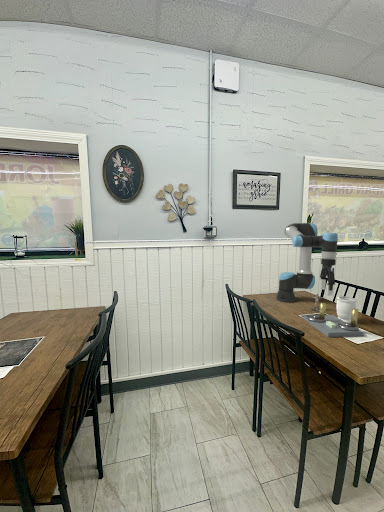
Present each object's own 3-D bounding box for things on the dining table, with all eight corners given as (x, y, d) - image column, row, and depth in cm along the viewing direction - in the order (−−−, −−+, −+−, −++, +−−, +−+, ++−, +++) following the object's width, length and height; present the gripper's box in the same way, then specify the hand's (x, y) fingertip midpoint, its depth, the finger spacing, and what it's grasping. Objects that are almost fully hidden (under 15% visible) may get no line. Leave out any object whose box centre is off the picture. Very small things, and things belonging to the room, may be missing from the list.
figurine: (323, 308, 164) (324, 293, 162) (326, 312, 157) (327, 296, 156) (307, 307, 166) (308, 292, 164) (309, 310, 159) (311, 295, 158)
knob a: (307, 320, 136) (308, 304, 135) (305, 314, 145) (306, 299, 144) (326, 323, 132) (327, 306, 131) (323, 317, 141) (324, 301, 140)
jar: (357, 324, 137) (360, 301, 135) (339, 323, 139) (341, 300, 137) (349, 317, 147) (351, 296, 145) (332, 316, 149) (334, 295, 147)
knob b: (346, 331, 122) (347, 312, 121) (333, 323, 132) (335, 306, 131) (363, 330, 123) (364, 312, 121) (349, 323, 133) (351, 306, 131)
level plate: (303, 319, 145) (304, 312, 144) (332, 318, 146) (333, 311, 145) (328, 337, 121) (328, 328, 120) (362, 336, 122) (363, 328, 121)
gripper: (343, 261, 119) (340, 298, 122) (328, 256, 143) (326, 287, 145) (328, 260, 121) (325, 297, 124) (316, 255, 145) (313, 286, 147)
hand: (325, 292), depth 135 cm, fingers open, 13 cm apart
